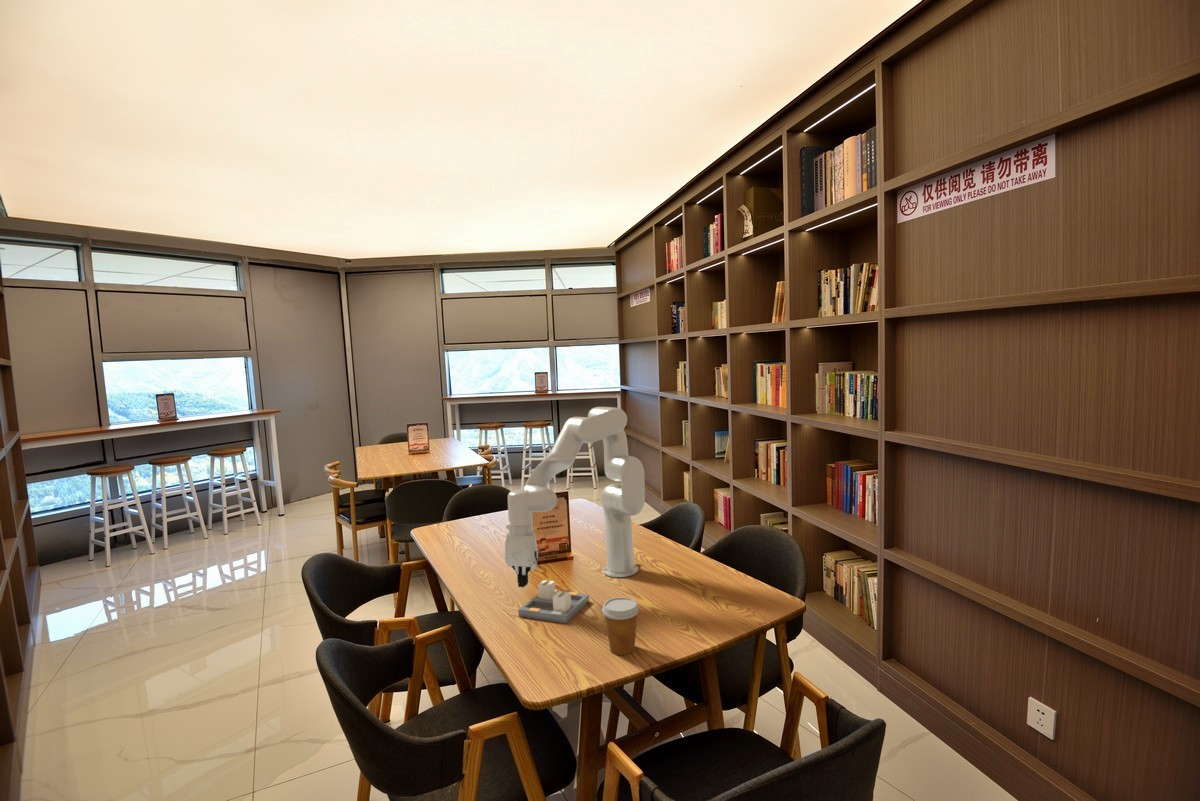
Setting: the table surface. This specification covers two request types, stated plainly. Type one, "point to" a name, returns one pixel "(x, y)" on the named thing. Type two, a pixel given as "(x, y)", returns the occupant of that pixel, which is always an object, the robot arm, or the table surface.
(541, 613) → the switch bank
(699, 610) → the table surface
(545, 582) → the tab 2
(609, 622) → the disposable coffee cup
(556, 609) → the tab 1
